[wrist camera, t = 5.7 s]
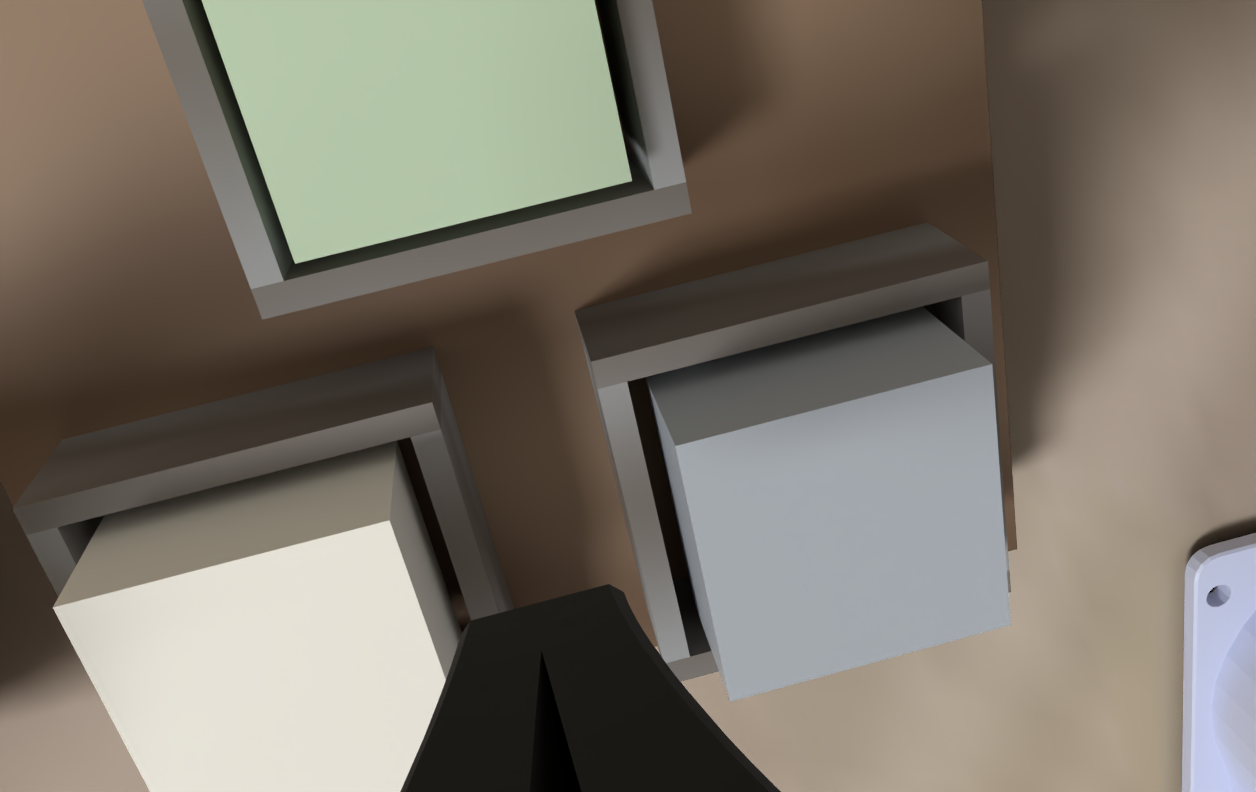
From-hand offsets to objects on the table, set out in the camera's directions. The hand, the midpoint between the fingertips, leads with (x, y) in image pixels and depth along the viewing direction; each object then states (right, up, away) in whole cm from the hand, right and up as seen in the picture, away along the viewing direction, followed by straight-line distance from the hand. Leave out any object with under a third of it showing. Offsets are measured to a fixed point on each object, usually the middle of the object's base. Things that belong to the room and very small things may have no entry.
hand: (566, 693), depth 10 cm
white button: (-4, 0, +6) cm, 7 cm away
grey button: (+3, +2, +7) cm, 7 cm away
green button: (-2, +7, +4) cm, 9 cm away
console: (-2, +5, +8) cm, 10 cm away
